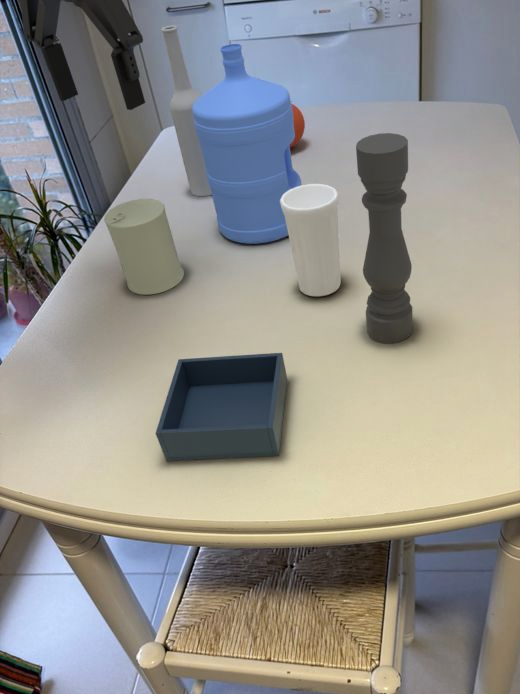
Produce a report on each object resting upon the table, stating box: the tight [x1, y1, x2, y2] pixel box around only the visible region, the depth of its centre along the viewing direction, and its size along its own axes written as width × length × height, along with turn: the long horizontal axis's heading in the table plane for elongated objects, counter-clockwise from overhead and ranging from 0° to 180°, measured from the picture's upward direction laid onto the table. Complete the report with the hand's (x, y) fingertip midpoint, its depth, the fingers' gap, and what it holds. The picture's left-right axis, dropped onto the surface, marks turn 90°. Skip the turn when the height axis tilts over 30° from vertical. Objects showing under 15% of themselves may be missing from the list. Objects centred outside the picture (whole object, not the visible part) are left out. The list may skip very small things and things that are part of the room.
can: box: [103, 198, 185, 296], centre depth 101 cm, size 9×9×12 cm
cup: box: [280, 183, 342, 297], centre depth 93 cm, size 8×8×14 cm
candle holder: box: [355, 132, 414, 344], centre depth 79 cm, size 6×6×25 cm
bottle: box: [161, 24, 212, 197], centre depth 118 cm, size 7×7×28 cm
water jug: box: [192, 43, 303, 245], centre depth 105 cm, size 16×16×28 cm
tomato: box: [289, 100, 306, 149], centre depth 135 cm, size 10×10×10 cm
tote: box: [154, 352, 288, 462], centre depth 77 cm, size 13×13×4 cm
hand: (101, 102), depth 89 cm, fingers open, 13 cm apart
